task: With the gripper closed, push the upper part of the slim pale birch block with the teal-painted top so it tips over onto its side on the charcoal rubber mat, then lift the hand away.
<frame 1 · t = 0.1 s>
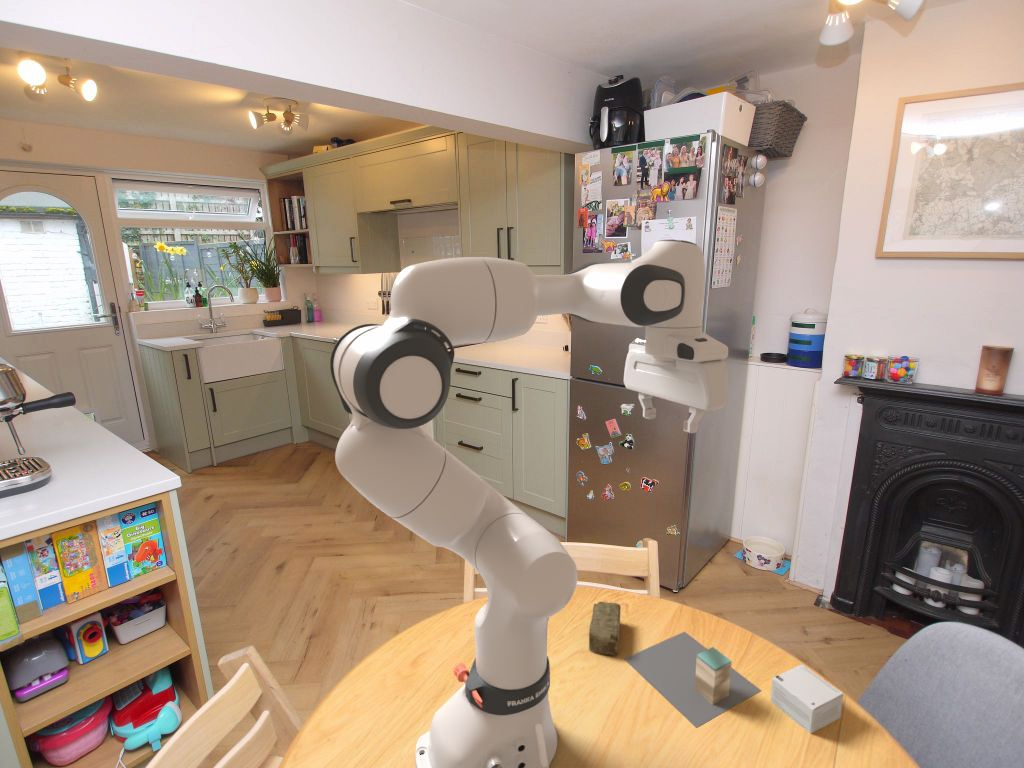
hand: (668, 424, 89), 48 cm above the table, tool pointing down, fingers open, 8 cm apart
stone block: (604, 639, 108), on the table
small box: (804, 712, 90), on the table
birch block: (711, 692, 93), resting on rubber mat
rubber mat: (689, 675, 97), on the table
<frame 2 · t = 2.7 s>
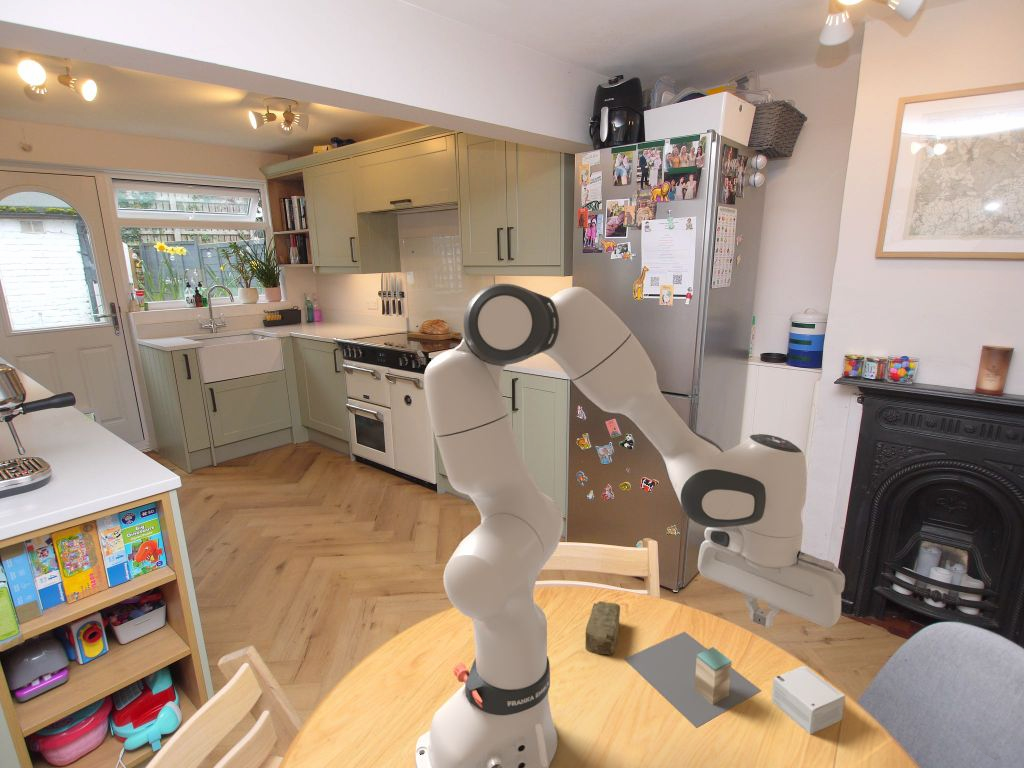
hand: (761, 622, 82), 19 cm above the table, tool pointing down, fingers closed
nothing on the table moved.
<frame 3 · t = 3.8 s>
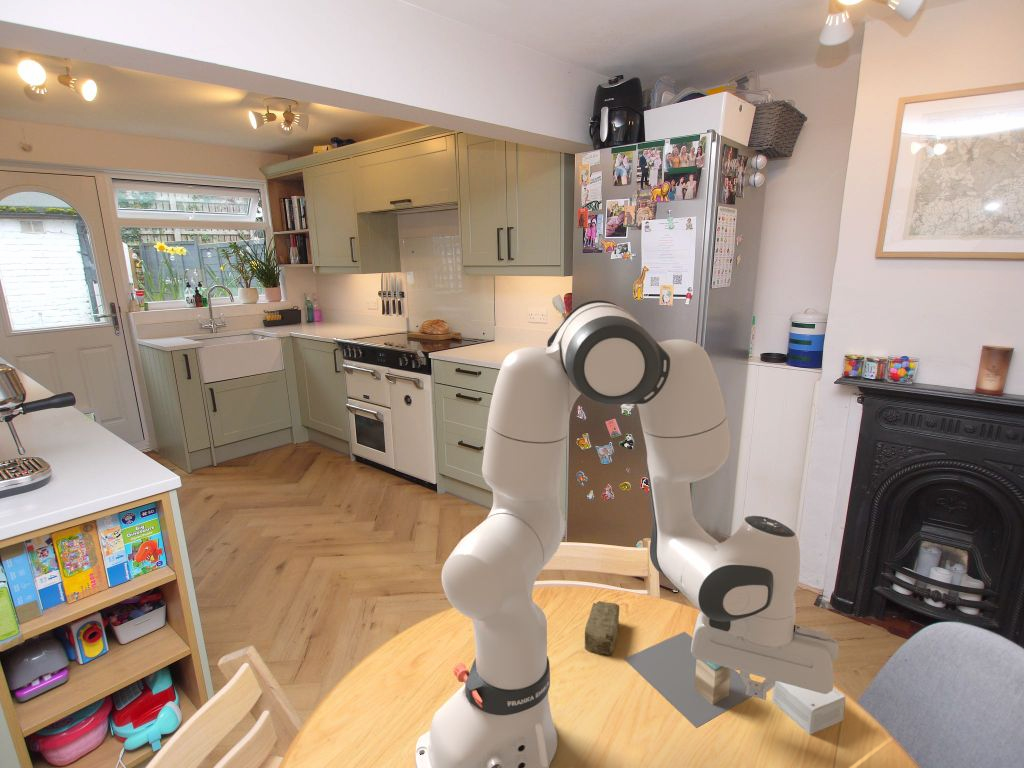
hand: (755, 694, 85), 7 cm above the table, tool pointing down, fingers closed
nothing on the table moved.
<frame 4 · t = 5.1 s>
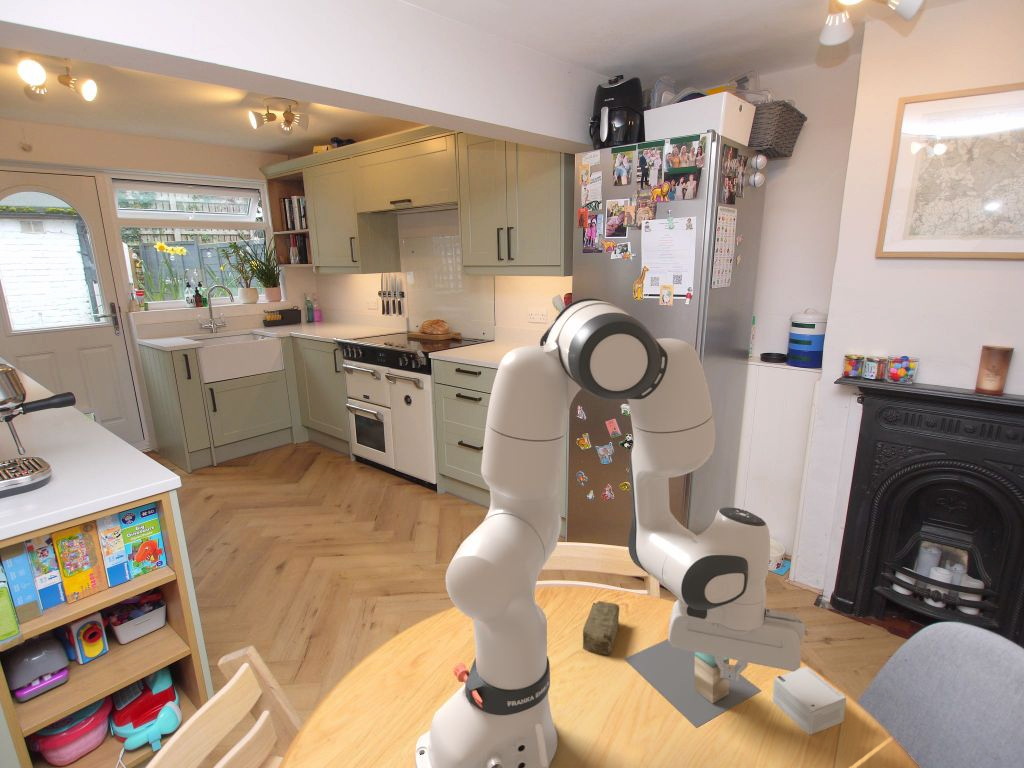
hand: (728, 677, 89), 6 cm above the table, tool pointing down, fingers closed
birch block: (711, 691, 93), point 1 cm above the table, touching gripper, rubber mat
everything else where it was.
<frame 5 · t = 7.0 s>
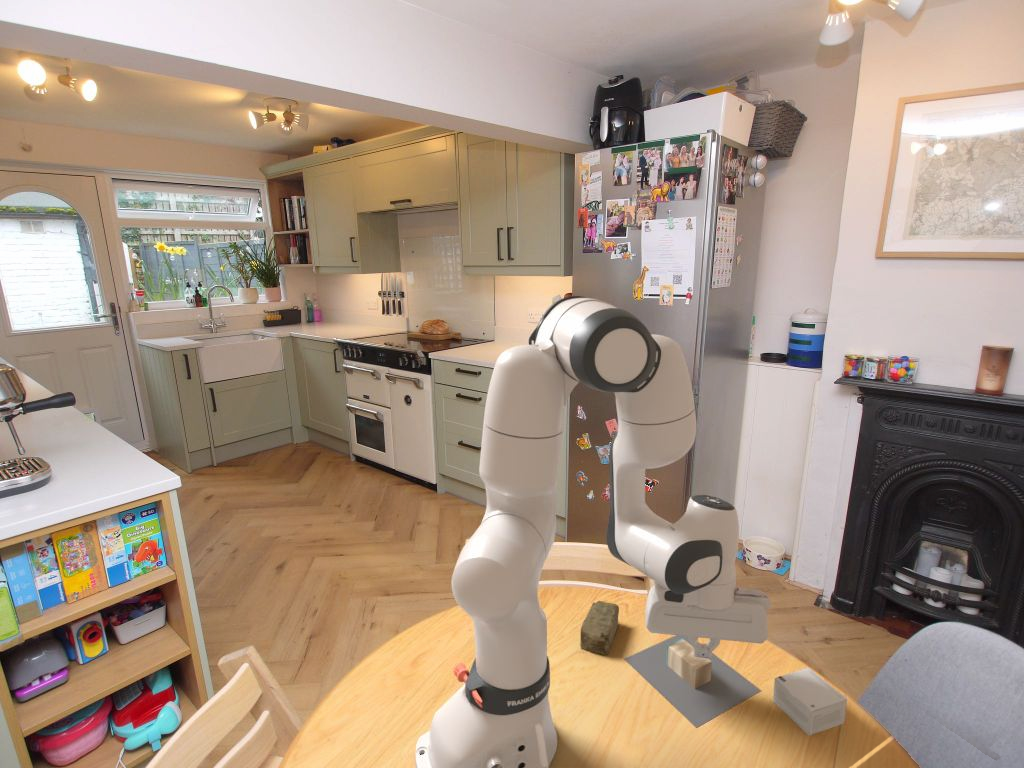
hand: (702, 655, 94), 6 cm above the table, tool pointing down, fingers closed
birch block: (703, 675, 94), point 2 cm above the table, tilted 90°, touching rubber mat
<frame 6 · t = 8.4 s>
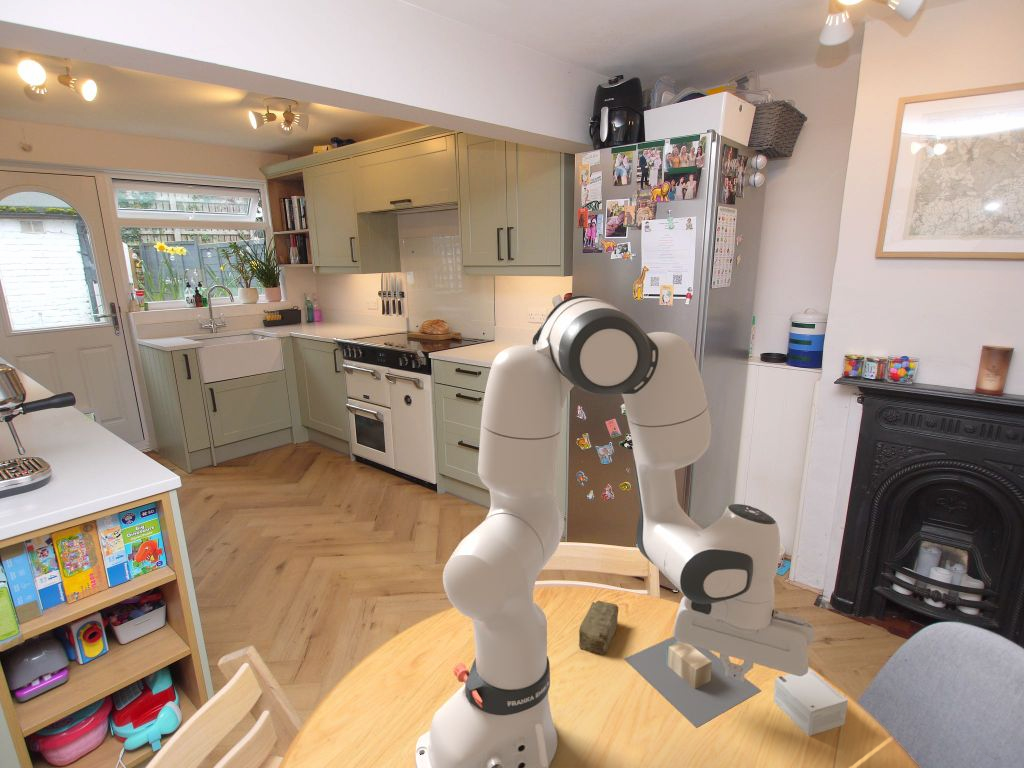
hand: (734, 676, 88), 7 cm above the table, tool pointing down, fingers closed
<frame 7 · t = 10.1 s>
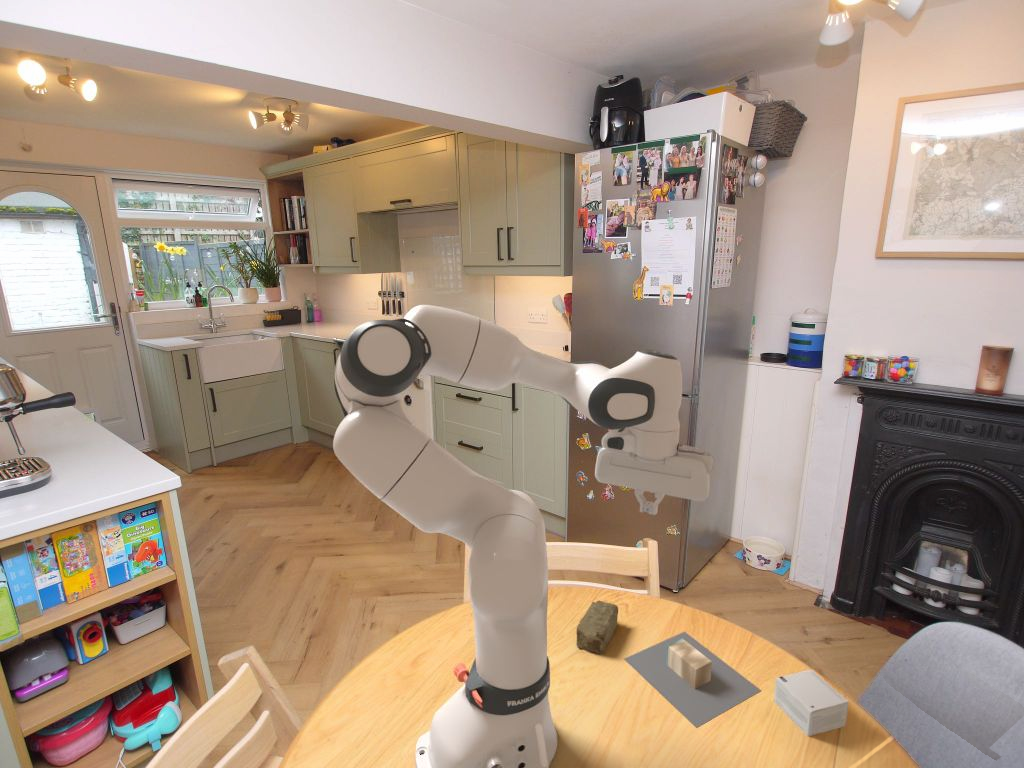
hand: (648, 512, 97), 30 cm above the table, tool pointing down, fingers closed
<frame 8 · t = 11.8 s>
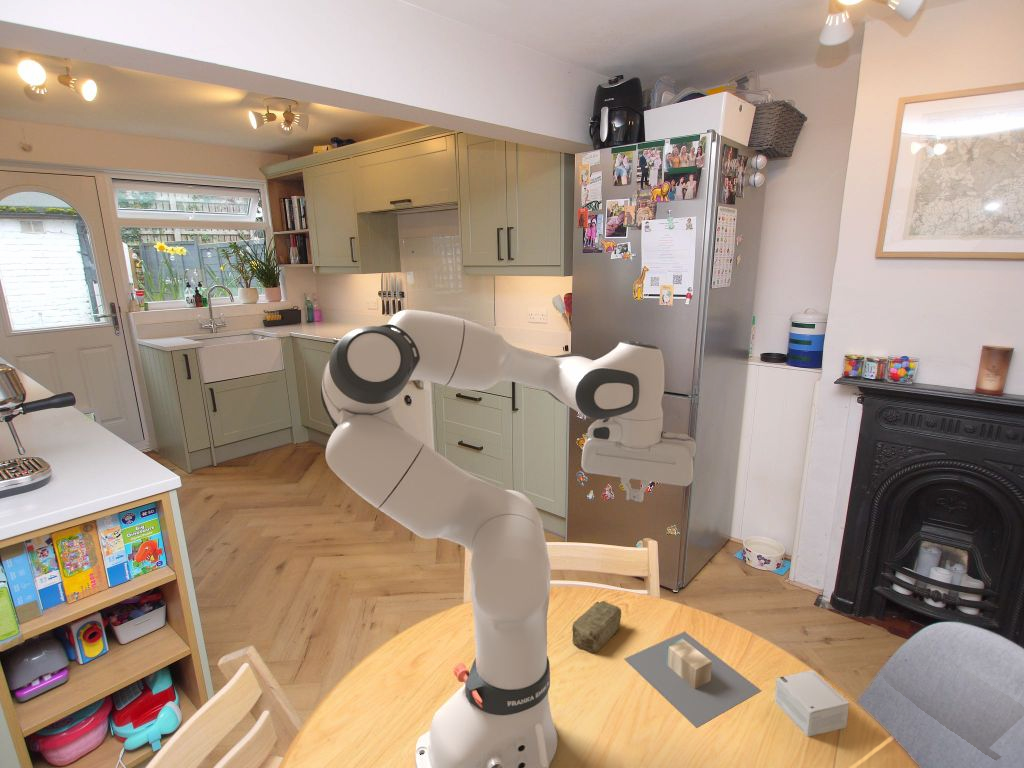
hand: (634, 499, 100), 31 cm above the table, tool pointing down, fingers closed
at the end: birch block tilted 90°; birch block inside the target area on the rubber mat (1.0 cm from its centre), point 2.4 cm above the rubber mat's base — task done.
